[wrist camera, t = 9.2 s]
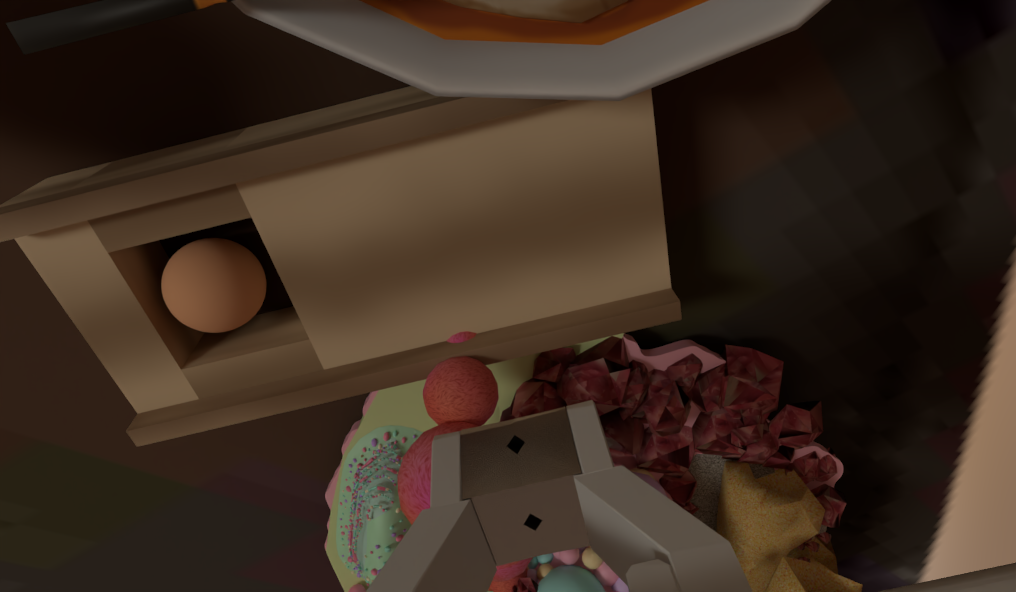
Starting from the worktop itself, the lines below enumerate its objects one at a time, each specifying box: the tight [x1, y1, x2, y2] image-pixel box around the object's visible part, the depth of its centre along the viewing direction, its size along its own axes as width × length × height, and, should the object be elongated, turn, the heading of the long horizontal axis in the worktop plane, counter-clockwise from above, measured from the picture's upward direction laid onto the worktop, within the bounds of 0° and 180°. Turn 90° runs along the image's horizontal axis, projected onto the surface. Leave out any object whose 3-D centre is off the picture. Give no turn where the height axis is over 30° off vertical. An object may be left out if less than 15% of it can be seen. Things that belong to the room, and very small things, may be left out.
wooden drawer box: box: [0, 86, 682, 447], centre depth 22 cm, size 10×21×4 cm, turn 103°
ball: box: [161, 238, 266, 333], centre depth 23 cm, size 4×4×4 cm
